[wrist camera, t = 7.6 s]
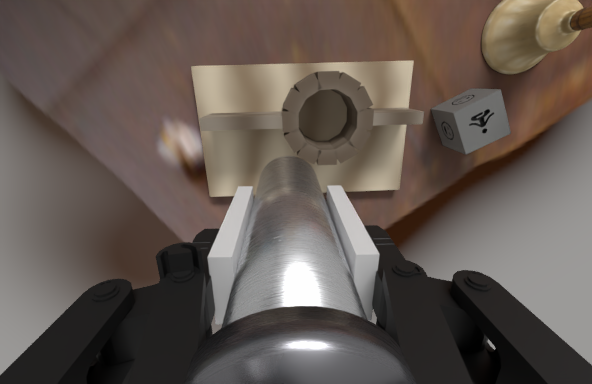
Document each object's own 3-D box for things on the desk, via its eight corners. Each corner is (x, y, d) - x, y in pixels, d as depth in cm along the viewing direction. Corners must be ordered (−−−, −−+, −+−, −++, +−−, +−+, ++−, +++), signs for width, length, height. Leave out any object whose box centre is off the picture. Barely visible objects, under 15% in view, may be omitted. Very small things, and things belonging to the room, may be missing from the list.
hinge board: (212, 193, 37) (198, 214, 31) (194, 66, 31) (174, 63, 26) (395, 186, 37) (416, 205, 32) (409, 61, 32) (436, 56, 26)
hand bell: (467, 30, 31) (633, -18, 16) (536, -30, 30) (794, -145, 15) (501, 90, 34) (674, 95, 19) (568, 37, 32) (816, -3, 17)
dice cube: (470, 88, 34) (500, 89, 29) (480, 126, 35) (510, 133, 31) (430, 108, 34) (453, 112, 30) (442, 145, 36) (465, 154, 31)
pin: (253, 218, 20) (184, 524, 6) (249, 148, 18) (141, 357, 4) (323, 217, 20) (410, 511, 6) (326, 148, 19) (456, 346, 5)
